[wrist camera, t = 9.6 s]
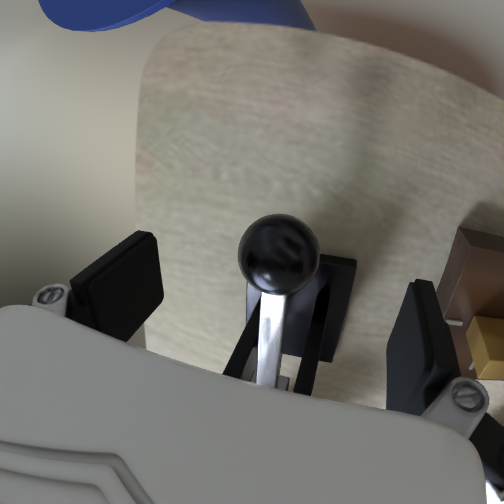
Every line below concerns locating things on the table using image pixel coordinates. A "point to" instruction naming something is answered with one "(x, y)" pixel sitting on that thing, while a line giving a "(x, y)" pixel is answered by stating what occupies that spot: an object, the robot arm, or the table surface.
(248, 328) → the handle bracket
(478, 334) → the thumb turn
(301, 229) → the door lever
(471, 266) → the lock plate
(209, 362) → the table surface
